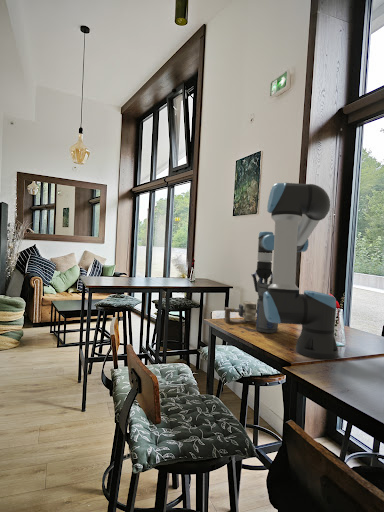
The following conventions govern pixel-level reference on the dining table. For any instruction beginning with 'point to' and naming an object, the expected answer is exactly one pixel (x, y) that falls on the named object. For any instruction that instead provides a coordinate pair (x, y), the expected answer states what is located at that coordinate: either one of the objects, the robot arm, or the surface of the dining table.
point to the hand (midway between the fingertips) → (261, 305)
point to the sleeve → (249, 311)
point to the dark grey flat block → (241, 310)
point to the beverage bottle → (261, 320)
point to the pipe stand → (228, 320)
